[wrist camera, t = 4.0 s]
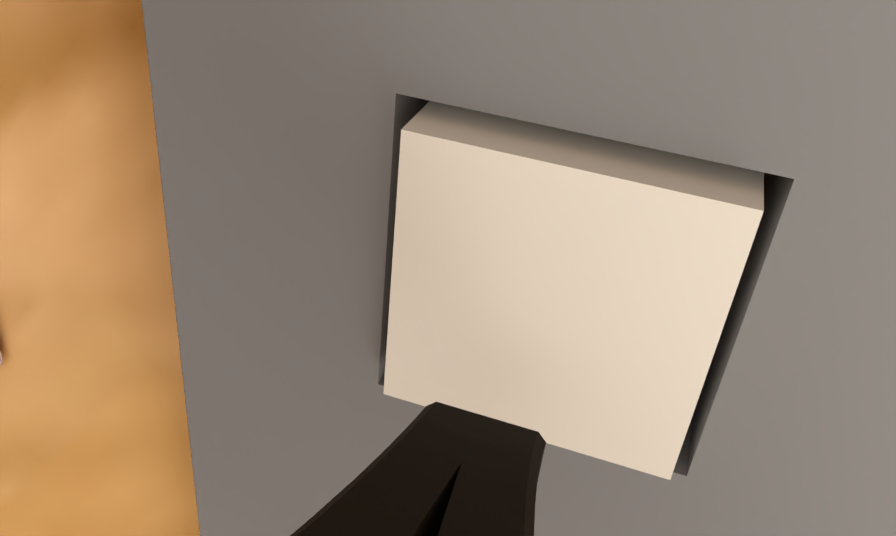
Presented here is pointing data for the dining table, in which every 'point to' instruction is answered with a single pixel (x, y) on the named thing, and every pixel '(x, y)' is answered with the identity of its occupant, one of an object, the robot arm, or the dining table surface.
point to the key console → (556, 105)
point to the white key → (562, 280)
